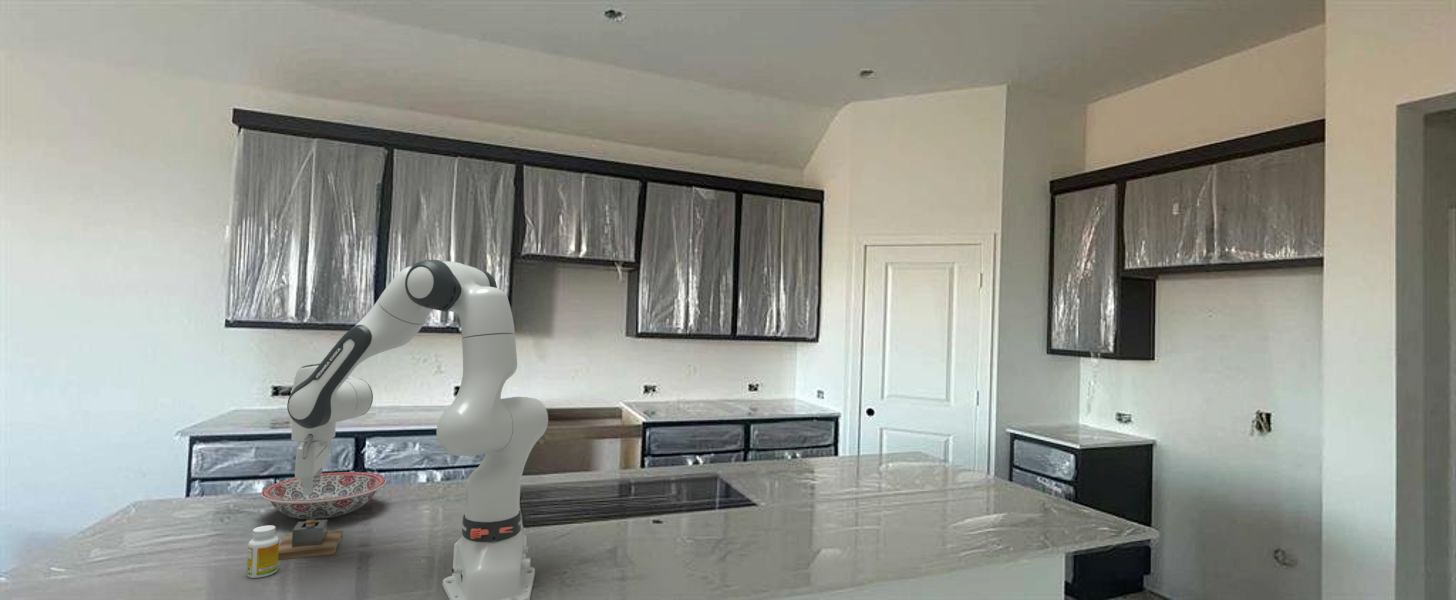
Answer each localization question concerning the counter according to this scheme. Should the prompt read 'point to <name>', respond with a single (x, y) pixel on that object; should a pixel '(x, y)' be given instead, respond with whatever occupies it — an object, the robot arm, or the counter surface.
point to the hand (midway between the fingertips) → (311, 489)
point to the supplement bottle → (263, 552)
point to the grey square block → (309, 534)
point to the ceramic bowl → (324, 495)
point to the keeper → (315, 550)
